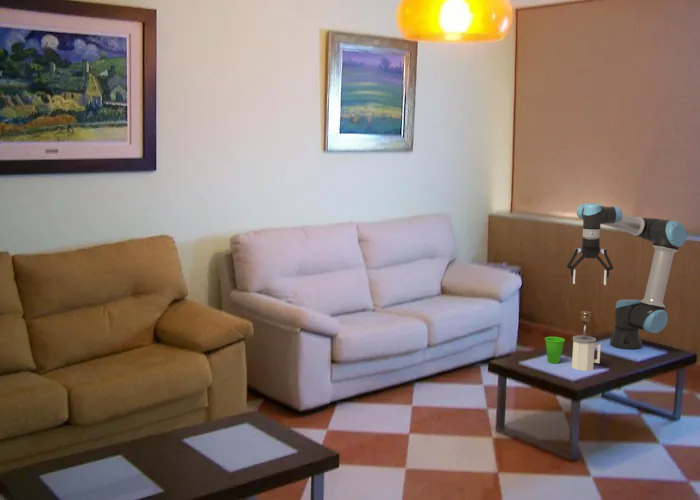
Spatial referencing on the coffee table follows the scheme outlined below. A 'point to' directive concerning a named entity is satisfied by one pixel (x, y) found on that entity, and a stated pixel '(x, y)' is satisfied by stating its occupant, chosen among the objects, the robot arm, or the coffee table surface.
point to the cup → (554, 349)
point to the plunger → (585, 320)
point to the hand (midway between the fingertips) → (589, 283)
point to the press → (584, 353)
